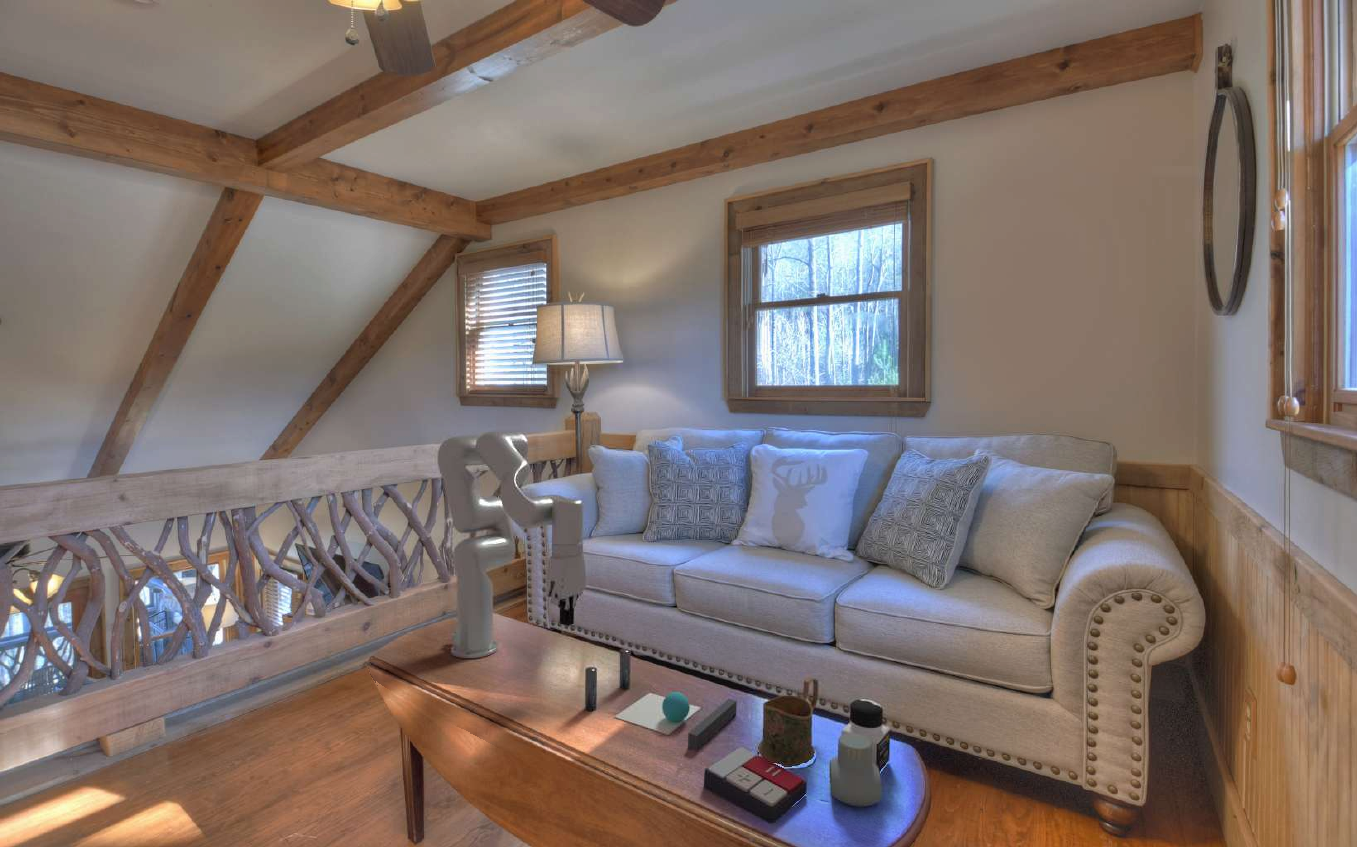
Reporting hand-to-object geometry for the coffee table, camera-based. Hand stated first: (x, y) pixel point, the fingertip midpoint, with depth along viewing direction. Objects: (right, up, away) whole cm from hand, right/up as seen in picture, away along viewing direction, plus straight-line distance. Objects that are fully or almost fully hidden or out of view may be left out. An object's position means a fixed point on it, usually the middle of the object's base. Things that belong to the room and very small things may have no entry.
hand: (566, 623), depth 157 cm
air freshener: (+59, -17, -43) cm, 75 cm away
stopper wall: (+35, -16, -21) cm, 44 cm away
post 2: (+14, -15, -1) cm, 21 cm away
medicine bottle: (+63, -17, -33) cm, 74 cm away
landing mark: (+23, -16, -14) cm, 31 cm away
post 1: (+8, -16, -12) cm, 21 cm away
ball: (+27, -13, -17) cm, 34 cm away
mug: (+51, -17, -27) cm, 60 cm away
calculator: (+41, -17, -42) cm, 61 cm away
